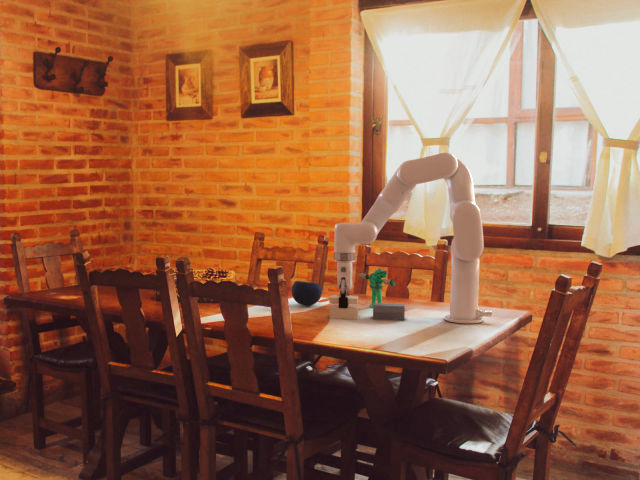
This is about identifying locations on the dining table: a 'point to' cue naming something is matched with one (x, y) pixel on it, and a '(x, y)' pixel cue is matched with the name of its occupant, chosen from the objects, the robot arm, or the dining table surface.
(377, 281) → the toy
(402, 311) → the grey book
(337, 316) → the cream book
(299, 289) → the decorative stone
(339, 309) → the cream book
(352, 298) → the cream book
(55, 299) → the dining table surface
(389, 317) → the grey book
